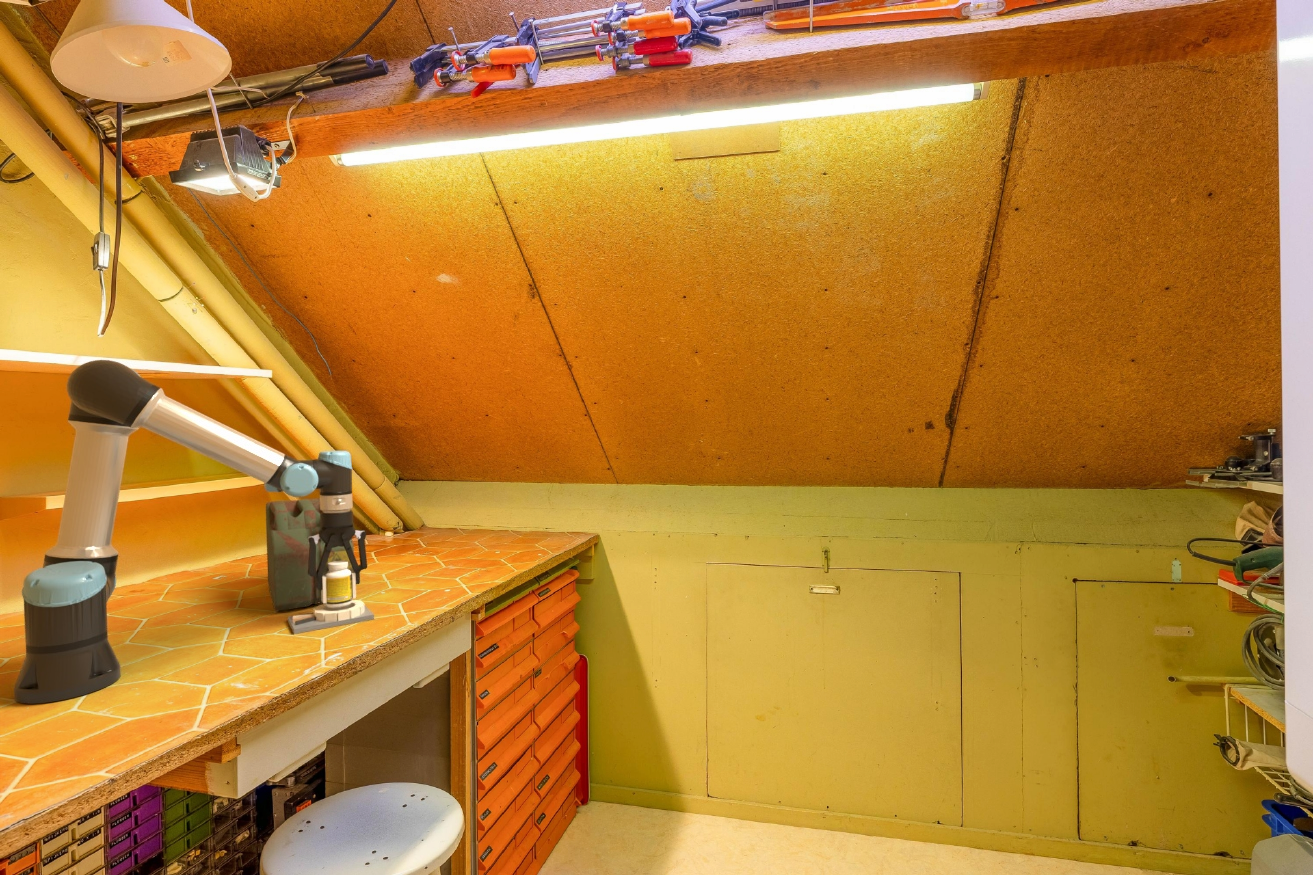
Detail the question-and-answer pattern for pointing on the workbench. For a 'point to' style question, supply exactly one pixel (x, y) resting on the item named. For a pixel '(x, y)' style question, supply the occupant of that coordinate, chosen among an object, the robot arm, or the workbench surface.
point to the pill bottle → (338, 584)
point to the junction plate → (327, 624)
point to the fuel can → (295, 552)
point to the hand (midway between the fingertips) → (338, 599)
